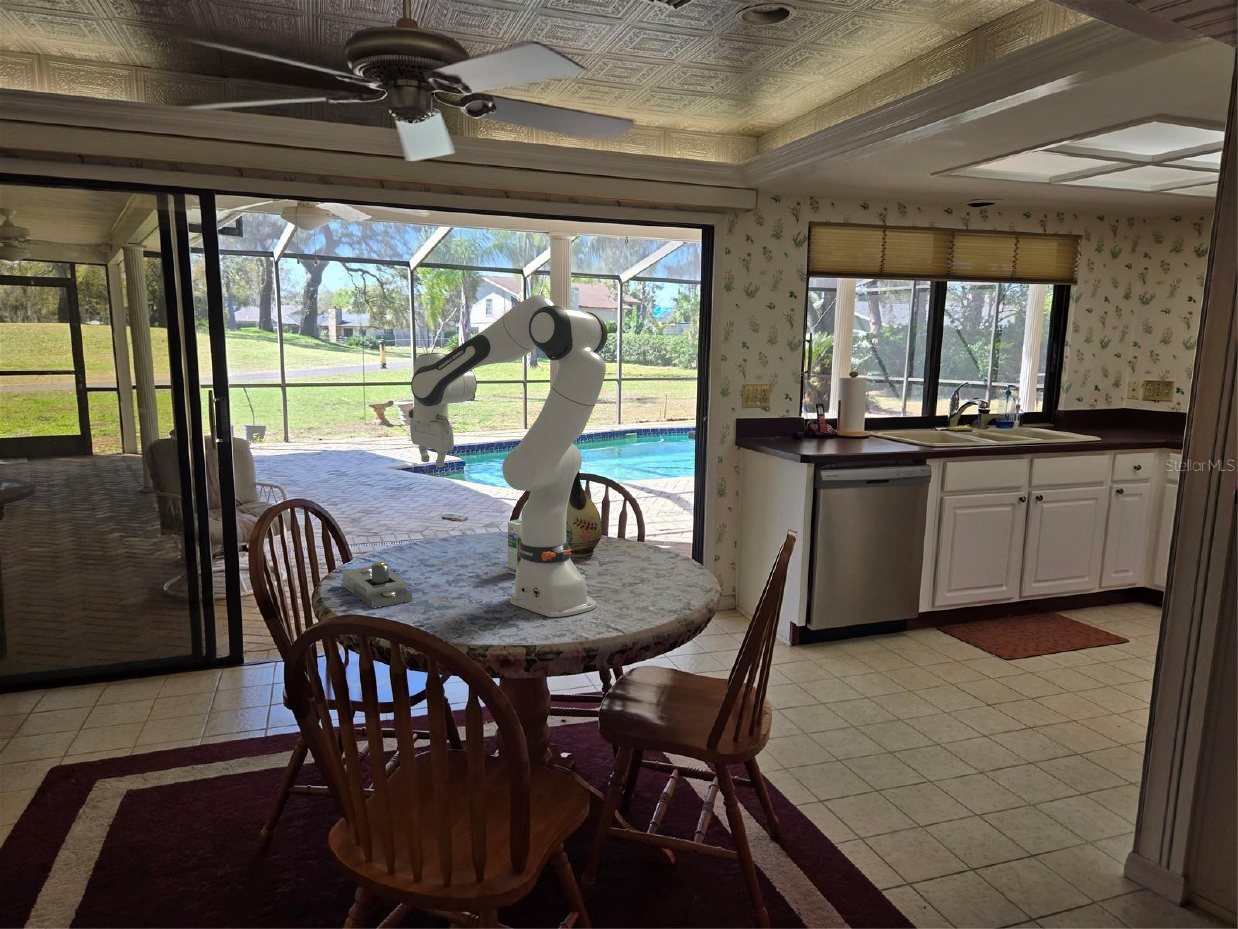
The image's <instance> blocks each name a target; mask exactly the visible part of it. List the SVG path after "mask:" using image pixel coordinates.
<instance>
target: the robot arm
mask: <svg viewBox="0 0 1238 929" xmlns="http://www.w3.org/2000/svg"><path fill="white" fill-rule="evenodd" d="M607 327H608V326H607V324H606V323H605V321H604V320H603V319H602V318H601V317H600V316H598V315H597V314H595V313H592V312H590V311H584V310H581V309H578V308H575V307H573V306H572V307H571V306H559V305H556V304H555V303H554V301H552V300H551V299H550V298H549V297H547V296H546V295H542V294H541V295H540V294H534V295H532V296H529V297H528V298H525V299H524V300H522V301H521V302H519V303H517V304H516V305H515V306H513V307H512V308H510V309H509V310H508V311H506V312H505V313H504V314H503V315H501V317H500V318H498V319H497V320H495V321H494V322H493V323H492V324H490V325H489V326H488V327H487V328H485V329H483V330H481V331H480V332H479V333H477V334H476V335H474V336H473V337H471V338H470V339H468V340H467V341H465V342H463V343H462V344H460V345H458V347H456V348H455V349H453V350H452V351H450V352H449V353H448V354H446V355H445V354H444V353H441V352H431V353H429V352H427V353H423V354H420V355H418V356H417V357H416V358H415V362H414V365H413V375H412V378H411V382H410V389H411V392H412V395H413V397H414V400H413V401H414V406H413V407H412V408H411V409H409V410H408V413H407V414H408V418H409V419H410V420H409V433H410V440H411V442H412V444H413V445H416V446H418V450H419V453H420V459H421V462H422V463H429V462H430V455H429V452H428V449H431V450H436V454H437V458H436V459H435V466H436V467H439V468H442V467H444V466H445V459H446V456H447V452H451V451H453V450H454V448H455V439H454V429H453V425H452V423H451V422H450V421H449V405H451V404H458V403H459V404H460V403H465V402H467V401H468V402H469V401H470V400H472V399H473V398H474V397H475V394H476V393H477V388H478V381H477V378H476V375H475V373H474V372H473V371H472V370H474V369H476V368H480V367H483V366H487V365H495V364H504V363H512V362H516V361H517V360H519V359H522V358H524V357H525V356H527V355H528V354H530V353H531V352H533V350H535V349H536V348H538V349H539V350H540V351H542V352H543V353H544V354H545V356H546V357H547V358H548V359H549V360H550V361H558V365H559V366H558V371H557V374H556V377H555V379H554V381H553V383H552V385H551V388H550V390H549V393H548V395H547V398H546V399H545V402H544V404H543V406H542V408H541V411H540V413H539V414H538V416H537V418H536V419H535V420H534V422H533V424H532V425H531V427H530V428H529V429H528V431H527V432H526V434H525V435H524V436H523V438H522V439H521V441H520V442H519V443H518V445H517V446H515V448H514V449H513V450H511V451H510V452H509V453H508V454H507V455H506V456H505V457H504V459H503V462H502V465H501V466H502V467H501V468H502V476H503V478H504V480H505V482H506V483H507V485H508V486H509V487H510V488H513V489H514V490H517V491H524V492H526V491H527V492H529V494H528V495H529V496H528V499H527V500H526V503H525V504H524V506H523V508H522V509H521V515H520V516H521V519H520V520H521V529H522V541H521V542H520V547H519V551H520V557H521V561H520V564H519V566H518V567H517V569H516V575H515V581H514V591H513V592H514V593H513V596H512V597H511V598H510V600H509V601H510V602H509V604H511V605H514V606H516V607H519V608H523V609H526V610H528V611H531V612H533V613H537V614H539V615H542V616H544V617H545V616H546V617H549V618H556V617H557V618H558V617H560V618H561V617H566V616H567V617H568V616H573V615H577V614H582V613H585V612H589V611H591V610H594V609H596V608H597V607H598V602H597V601H596V600H594V598H592V597H591V596H589V595H588V589H587V583H586V582H587V577H586V575H585V574H581V572H580V571H579V569H578V567H577V566H576V565H575V564H574V562H573V561H572V559H571V558H572V557H571V554H572V553H570V551H571V550H572V549H570V548H569V545H568V542H567V541H566V518H567V507H568V501H569V497H570V493H571V489H572V485H573V481H574V479H575V476H576V475H577V473H578V471H579V472H580V470H581V468H582V463H583V462H582V460H583V458H582V454H581V451H580V450H579V448H578V447H577V445H575V444H574V442H575V441H576V440H577V439H578V438H579V437H580V436H581V435H582V434H583V432H584V430H585V428H586V427H587V426H586V425H587V424H588V422H589V419H590V417H591V415H592V413H593V410H594V408H595V405H596V403H597V402H598V399H599V397H600V393H601V391H602V387H603V384H604V381H605V376H606V371H607V364H606V363H605V360H604V359H603V358H602V356H601V355H599V352H601V350H603V348H604V347H605V346H606V345H607V344H606V343H607V341H608V337H609V336H608V335H609V334H608V328H607Z"/></svg>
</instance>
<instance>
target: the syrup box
mask: <svg viewBox="0 0 1238 929" xmlns="http://www.w3.org/2000/svg"><path fill="white" fill-rule="evenodd" d="M521 541H522V529H521V519H514V520H513V519H512V520H509V521H508V522H507V573H509V574H513V575H515V576H516V569H517V567H518V566H519V564H520V561H521V557H520V551H519V547H520V542H521Z"/></svg>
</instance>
